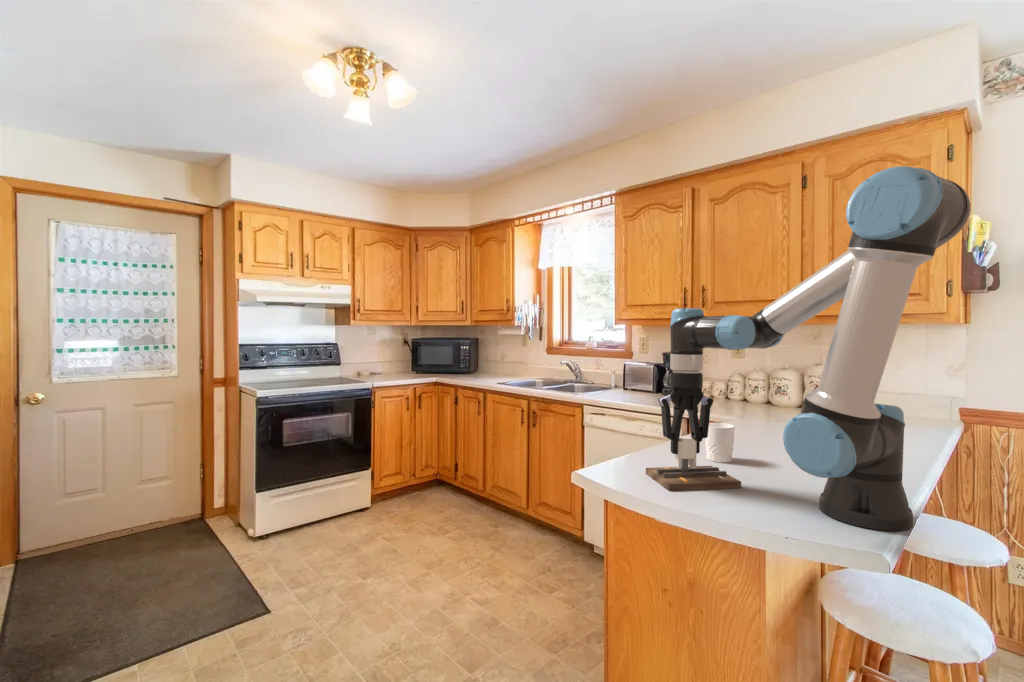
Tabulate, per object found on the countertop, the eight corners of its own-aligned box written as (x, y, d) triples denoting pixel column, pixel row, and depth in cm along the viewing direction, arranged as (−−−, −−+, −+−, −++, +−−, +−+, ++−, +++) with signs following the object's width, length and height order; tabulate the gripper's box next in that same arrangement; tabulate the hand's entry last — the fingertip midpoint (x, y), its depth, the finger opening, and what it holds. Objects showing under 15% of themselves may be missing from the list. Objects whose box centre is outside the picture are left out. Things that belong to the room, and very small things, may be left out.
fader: (694, 474, 115) (695, 440, 115) (682, 475, 115) (683, 440, 115) (686, 470, 119) (687, 436, 119) (675, 470, 119) (675, 436, 119)
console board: (741, 487, 112) (741, 477, 112) (668, 490, 110) (668, 479, 110) (711, 471, 125) (711, 462, 125) (645, 473, 123) (645, 464, 122)
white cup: (728, 456, 140) (728, 422, 140) (738, 464, 132) (739, 428, 132) (700, 455, 141) (701, 422, 140) (708, 463, 133) (709, 427, 133)
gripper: (709, 370, 121) (707, 461, 122) (648, 370, 119) (647, 463, 120) (725, 372, 114) (724, 470, 114) (661, 373, 112) (660, 472, 112)
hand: (684, 466), depth 117 cm, fingers closed on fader, 3 cm apart
